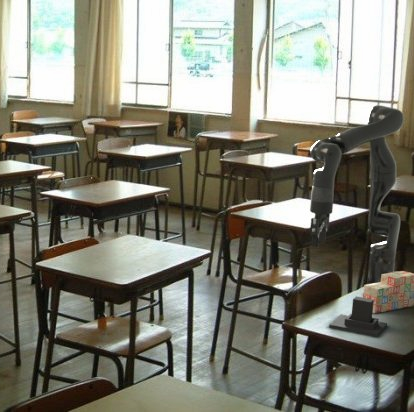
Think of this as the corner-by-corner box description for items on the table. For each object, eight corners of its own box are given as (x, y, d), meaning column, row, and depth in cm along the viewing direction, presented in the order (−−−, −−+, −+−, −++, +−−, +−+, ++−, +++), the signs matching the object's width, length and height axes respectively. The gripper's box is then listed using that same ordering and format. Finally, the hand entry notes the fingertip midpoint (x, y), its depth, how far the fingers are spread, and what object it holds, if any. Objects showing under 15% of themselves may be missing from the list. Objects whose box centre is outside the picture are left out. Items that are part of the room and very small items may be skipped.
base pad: (340, 317, 309) (341, 308, 308) (386, 326, 301) (387, 317, 300) (328, 327, 298) (329, 318, 297) (377, 337, 289) (377, 328, 288)
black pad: (353, 321, 302) (356, 296, 300) (371, 324, 298) (373, 299, 297) (350, 324, 298) (352, 299, 296) (368, 327, 295) (371, 302, 293)
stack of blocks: (375, 313, 314) (378, 281, 311) (361, 309, 319) (364, 276, 317) (413, 305, 325) (417, 274, 322) (399, 301, 330) (403, 270, 328)
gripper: (326, 203, 295) (322, 249, 299) (338, 197, 307) (334, 242, 310) (305, 201, 299) (301, 246, 303) (317, 195, 311) (314, 239, 314)
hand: (318, 244), depth 306 cm, fingers open, 8 cm apart
